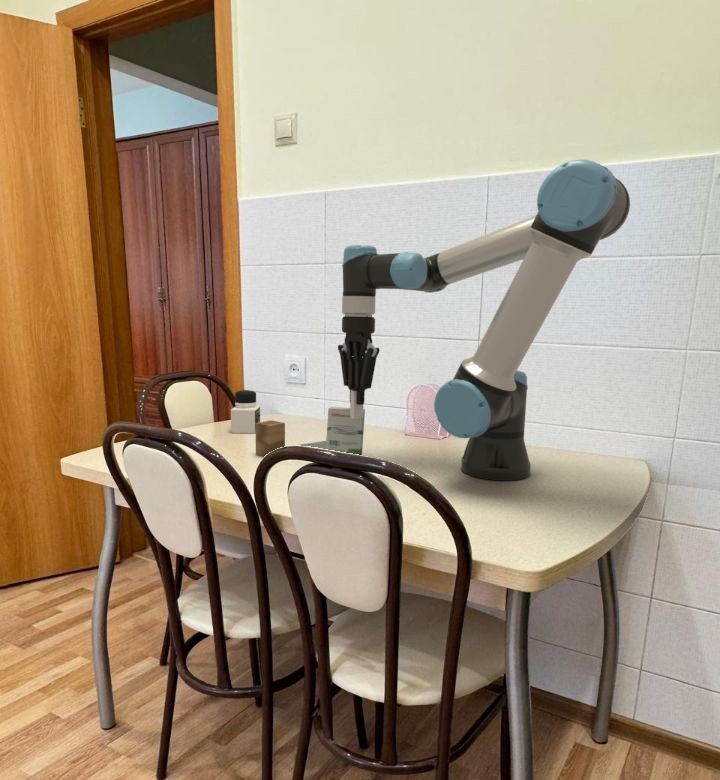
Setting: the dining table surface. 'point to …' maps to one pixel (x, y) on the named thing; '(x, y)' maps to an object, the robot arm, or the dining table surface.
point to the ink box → (344, 431)
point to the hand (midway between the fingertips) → (356, 417)
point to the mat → (316, 444)
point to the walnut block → (269, 436)
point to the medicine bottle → (245, 412)
